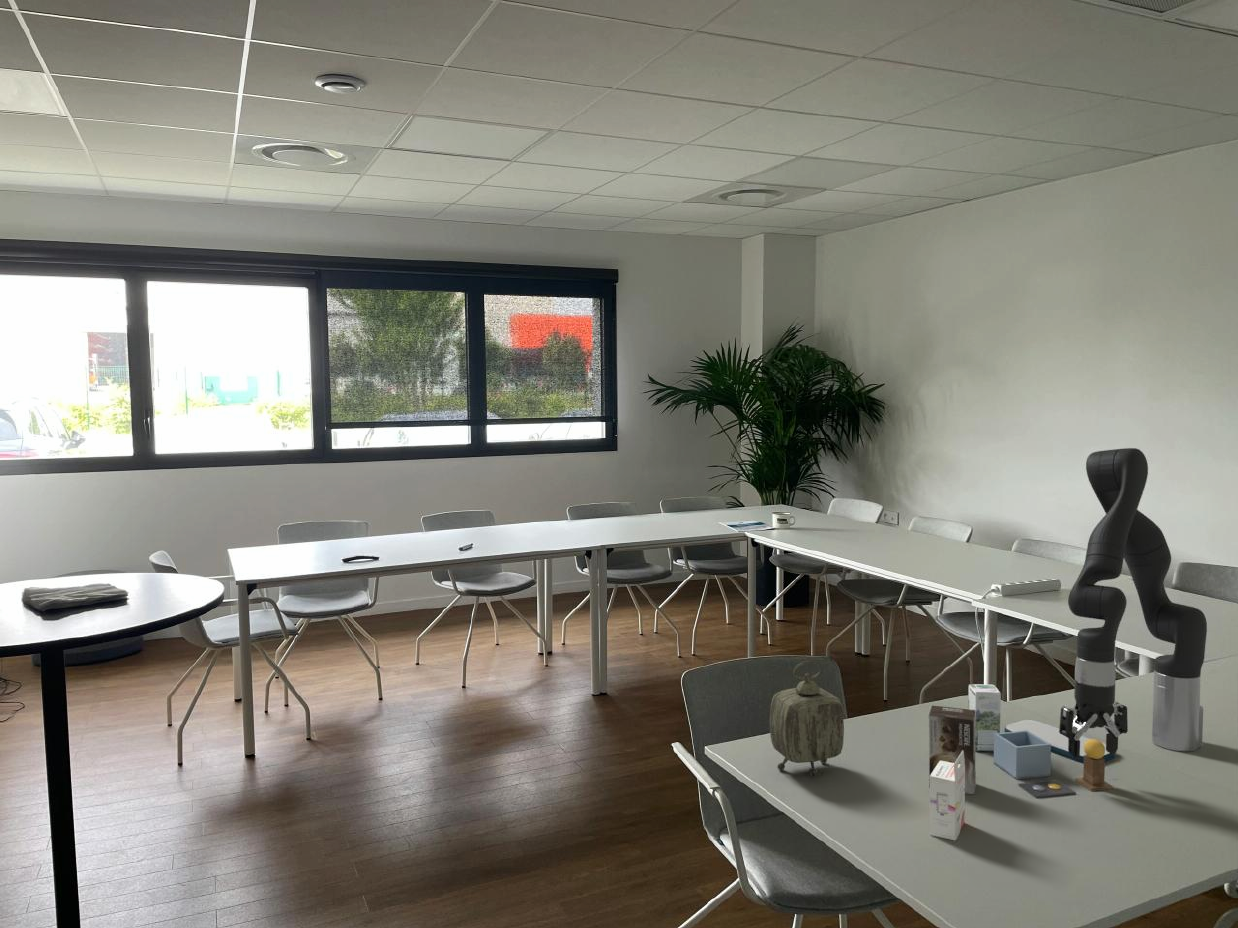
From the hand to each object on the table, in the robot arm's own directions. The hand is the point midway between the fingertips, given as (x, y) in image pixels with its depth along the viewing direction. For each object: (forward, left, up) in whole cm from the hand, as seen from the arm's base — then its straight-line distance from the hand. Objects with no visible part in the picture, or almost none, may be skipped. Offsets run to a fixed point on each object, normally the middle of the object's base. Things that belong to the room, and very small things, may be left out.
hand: (1092, 754), depth 187 cm
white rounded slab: (-7, -21, -7) cm, 23 cm away
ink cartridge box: (+40, +11, -7) cm, 42 cm away
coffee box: (+29, -6, -7) cm, 30 cm away
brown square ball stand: (0, 0, -7) cm, 7 cm away
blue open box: (+10, -10, -7) cm, 15 cm away
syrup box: (+11, -23, -7) cm, 26 cm away
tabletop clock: (+56, -19, -7) cm, 59 cm away
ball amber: (0, 0, +1) cm, 1 cm away
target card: (+11, 0, -7) cm, 13 cm away
